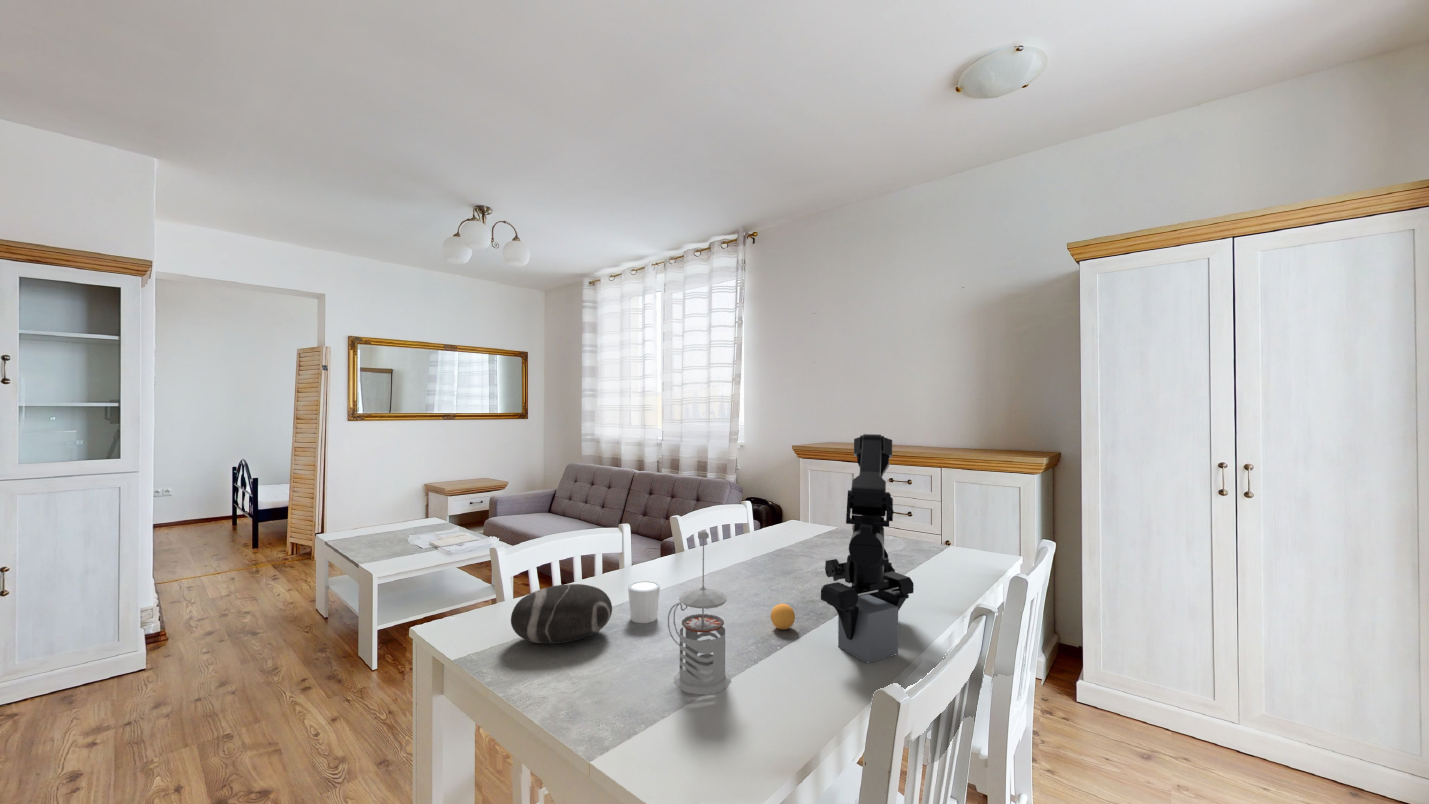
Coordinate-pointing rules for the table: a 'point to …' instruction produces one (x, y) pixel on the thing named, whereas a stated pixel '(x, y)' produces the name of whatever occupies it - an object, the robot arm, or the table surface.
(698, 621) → the french press
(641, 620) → the white tapered cup
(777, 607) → the ball
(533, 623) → the decorative stone
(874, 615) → the grey matte cube
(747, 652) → the table surface
